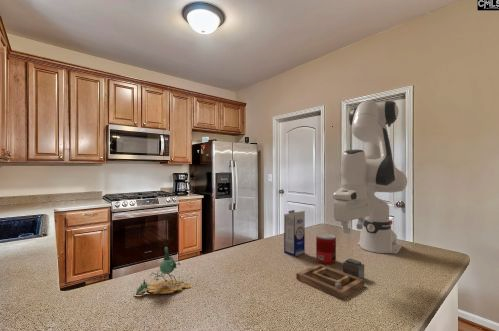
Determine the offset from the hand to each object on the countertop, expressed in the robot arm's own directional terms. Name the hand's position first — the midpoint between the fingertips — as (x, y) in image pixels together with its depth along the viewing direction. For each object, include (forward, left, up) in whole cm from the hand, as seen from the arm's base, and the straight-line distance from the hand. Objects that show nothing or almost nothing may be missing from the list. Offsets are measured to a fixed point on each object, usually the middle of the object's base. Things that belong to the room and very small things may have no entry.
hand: (353, 230), depth 91 cm
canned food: (-5, -15, -17) cm, 23 cm away
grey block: (0, 0, -17) cm, 17 cm away
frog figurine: (+58, -34, -17) cm, 69 cm away
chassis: (+10, -3, -17) cm, 20 cm away
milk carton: (-2, -30, -17) cm, 35 cm away
